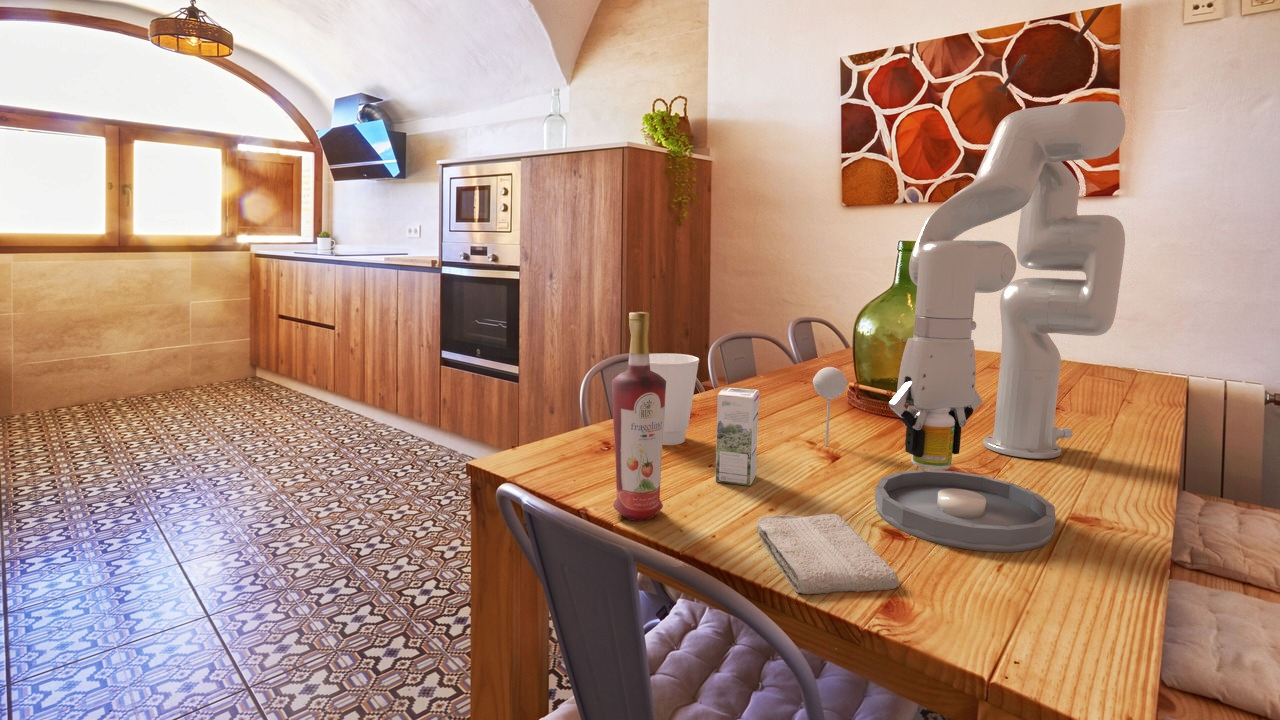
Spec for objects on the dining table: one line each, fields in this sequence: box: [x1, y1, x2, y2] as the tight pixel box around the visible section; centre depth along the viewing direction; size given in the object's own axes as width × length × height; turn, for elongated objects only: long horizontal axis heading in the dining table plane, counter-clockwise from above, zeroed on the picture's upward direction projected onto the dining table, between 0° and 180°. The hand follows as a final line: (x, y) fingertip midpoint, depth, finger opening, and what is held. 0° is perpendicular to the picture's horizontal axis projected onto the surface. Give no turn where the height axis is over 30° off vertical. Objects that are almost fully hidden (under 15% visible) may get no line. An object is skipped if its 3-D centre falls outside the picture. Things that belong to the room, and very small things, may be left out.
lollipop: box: [812, 366, 848, 447], centre depth 125 cm, size 6×6×15 cm
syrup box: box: [715, 387, 760, 487], centre depth 107 cm, size 6×6×14 cm
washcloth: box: [755, 513, 900, 595], centre depth 81 cm, size 12×18×3 cm, turn 7°
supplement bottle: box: [910, 408, 955, 471], centre depth 98 cm, size 5×5×10 cm
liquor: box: [611, 311, 666, 521], centre depth 91 cm, size 7×7×28 cm
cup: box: [649, 353, 700, 446], centre depth 128 cm, size 12×12×16 cm
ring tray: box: [874, 469, 1057, 553], centre depth 93 cm, size 22×22×3 cm
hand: (932, 451), depth 98 cm, fingers closed on supplement bottle, 5 cm apart
